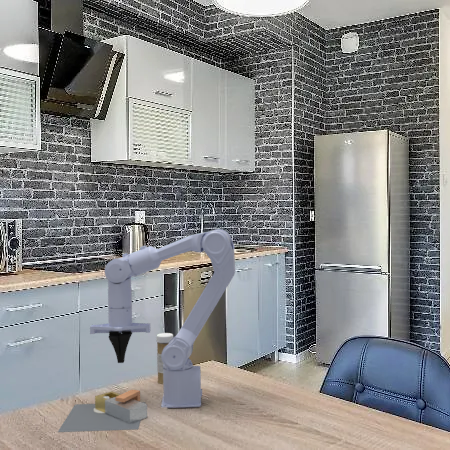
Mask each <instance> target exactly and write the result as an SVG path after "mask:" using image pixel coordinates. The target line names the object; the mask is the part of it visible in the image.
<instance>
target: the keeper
mask: <svg viewBox="0 0 450 450" xmlns="http://www.w3.org/2000/svg"><path fill="white" fill-rule="evenodd" d="M130 399H134V400H137V401H139V402H141V390H137V389H130V390H127V391H125V392H123V393H121V395H119V396H117V397H115V401H119V402H126V401H128V400H130Z"/></svg>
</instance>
